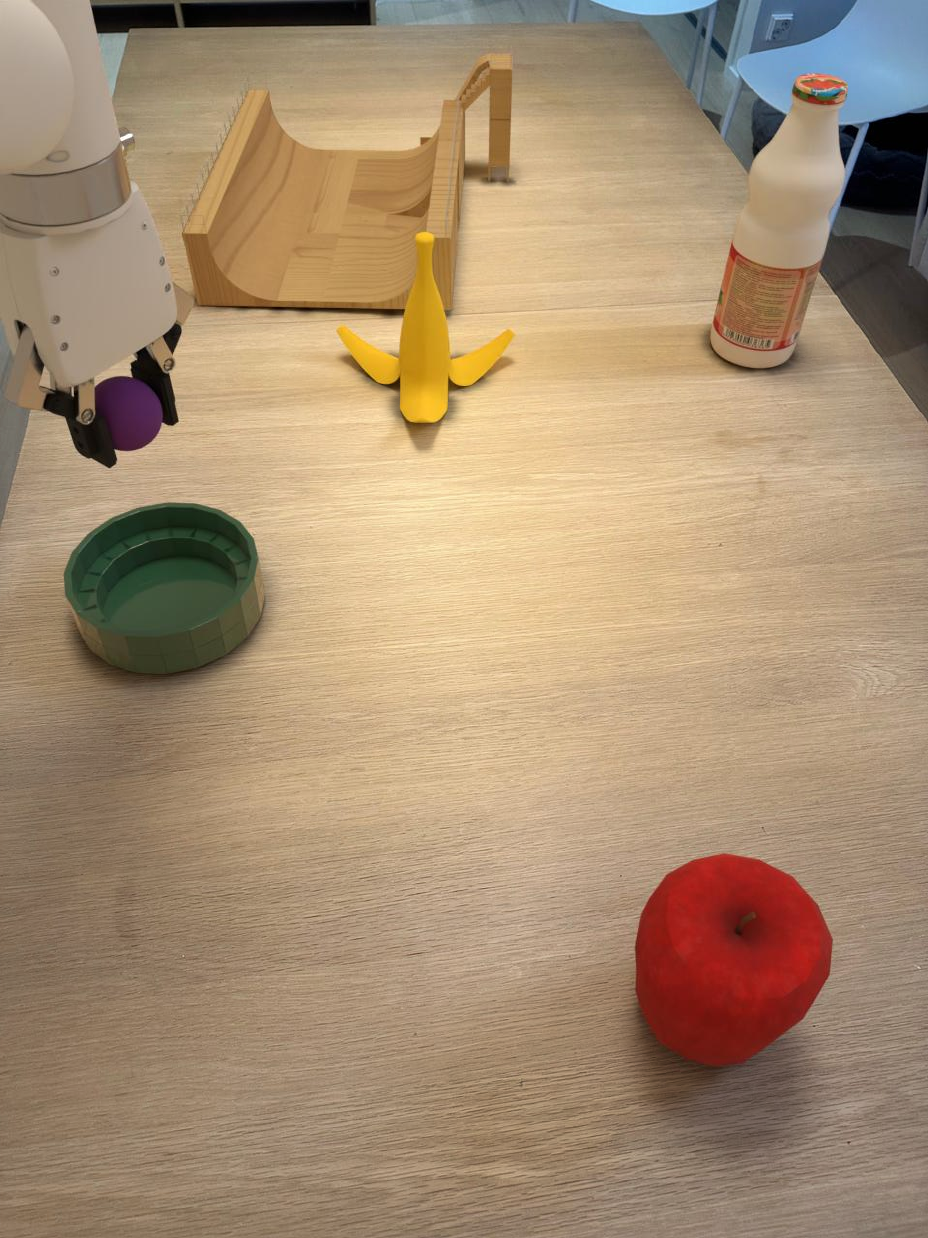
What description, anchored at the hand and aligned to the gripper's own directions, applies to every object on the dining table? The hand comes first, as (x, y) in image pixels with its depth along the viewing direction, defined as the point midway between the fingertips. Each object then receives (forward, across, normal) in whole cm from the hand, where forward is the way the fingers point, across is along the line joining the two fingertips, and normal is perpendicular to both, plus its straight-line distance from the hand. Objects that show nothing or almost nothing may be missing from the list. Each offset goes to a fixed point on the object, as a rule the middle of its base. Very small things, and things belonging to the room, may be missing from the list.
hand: (129, 435), depth 71 cm
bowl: (+19, -1, -2) cm, 19 cm away
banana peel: (+20, -37, -2) cm, 42 cm away
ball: (-2, 0, 0) cm, 2 cm away
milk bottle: (+20, -67, +21) cm, 73 cm away
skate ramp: (+20, -62, -30) cm, 71 cm away
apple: (+20, +4, +50) cm, 54 cm away
